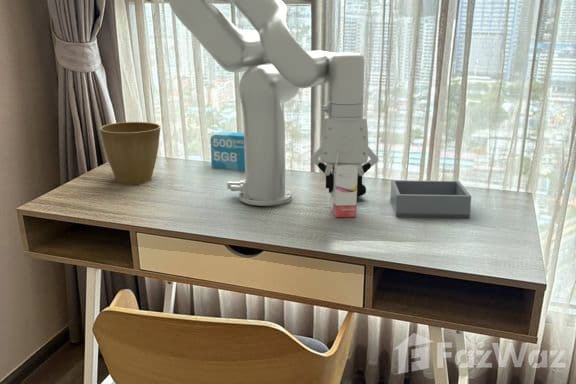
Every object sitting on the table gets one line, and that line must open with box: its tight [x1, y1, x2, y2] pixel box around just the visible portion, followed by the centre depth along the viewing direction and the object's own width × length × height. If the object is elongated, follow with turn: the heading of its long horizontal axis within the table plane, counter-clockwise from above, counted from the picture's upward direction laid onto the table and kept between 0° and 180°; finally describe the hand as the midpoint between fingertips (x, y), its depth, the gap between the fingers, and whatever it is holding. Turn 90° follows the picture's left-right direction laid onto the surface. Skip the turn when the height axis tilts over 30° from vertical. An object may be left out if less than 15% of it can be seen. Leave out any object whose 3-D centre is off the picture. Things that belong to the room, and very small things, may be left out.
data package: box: [210, 131, 245, 172], centre depth 168 cm, size 12×4×12 cm, turn 73°
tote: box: [389, 179, 472, 219], centre depth 139 cm, size 16×13×5 cm
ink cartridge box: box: [329, 151, 358, 218], centre depth 135 cm, size 9×5×15 cm, turn 4°
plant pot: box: [99, 121, 161, 186], centre depth 157 cm, size 15×15×16 cm
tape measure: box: [357, 183, 367, 198], centre depth 147 cm, size 7×7×4 cm
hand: (343, 190), depth 136 cm, fingers closed on ink cartridge box, 5 cm apart
